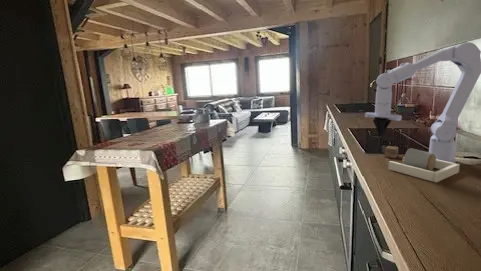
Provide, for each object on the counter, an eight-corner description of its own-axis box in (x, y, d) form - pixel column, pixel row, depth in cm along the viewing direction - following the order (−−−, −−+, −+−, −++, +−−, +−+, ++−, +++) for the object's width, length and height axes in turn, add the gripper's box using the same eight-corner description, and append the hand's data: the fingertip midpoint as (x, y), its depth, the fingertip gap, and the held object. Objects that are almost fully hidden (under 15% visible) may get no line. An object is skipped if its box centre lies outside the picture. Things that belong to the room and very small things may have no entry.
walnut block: (387, 154, 115) (388, 145, 115) (397, 156, 113) (398, 147, 112) (384, 156, 113) (385, 147, 112) (394, 158, 110) (395, 149, 109)
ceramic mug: (428, 175, 90) (430, 154, 89) (402, 170, 97) (404, 149, 95) (438, 168, 97) (440, 148, 95) (413, 163, 103) (415, 144, 101)
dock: (411, 161, 105) (411, 154, 105) (458, 172, 92) (459, 164, 91) (388, 169, 98) (388, 161, 97) (436, 182, 85) (437, 173, 84)
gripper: (361, 103, 111) (359, 134, 114) (395, 105, 99) (392, 140, 102) (371, 101, 115) (369, 132, 118) (405, 103, 102) (402, 137, 105)
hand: (380, 135), depth 110 cm, fingers closed
